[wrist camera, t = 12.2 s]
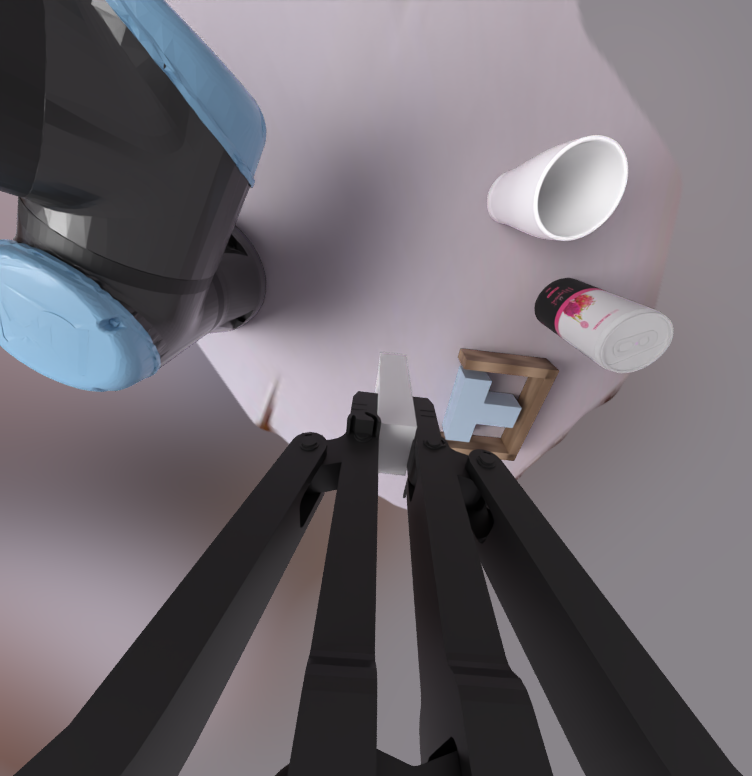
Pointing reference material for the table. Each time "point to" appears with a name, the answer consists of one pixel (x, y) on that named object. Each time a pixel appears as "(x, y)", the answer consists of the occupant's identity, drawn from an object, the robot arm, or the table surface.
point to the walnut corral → (529, 400)
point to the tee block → (477, 406)
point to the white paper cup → (562, 189)
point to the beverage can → (604, 325)
